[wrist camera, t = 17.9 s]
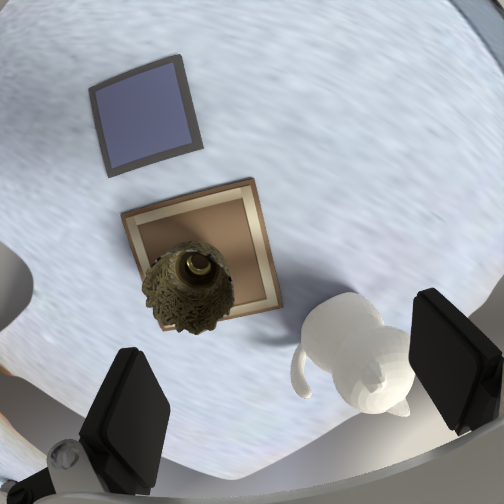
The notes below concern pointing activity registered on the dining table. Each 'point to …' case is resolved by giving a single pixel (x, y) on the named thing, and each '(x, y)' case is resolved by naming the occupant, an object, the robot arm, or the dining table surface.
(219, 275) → the cup
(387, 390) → the cat figurine
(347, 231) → the dining table surface
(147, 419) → the robot arm
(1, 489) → the decorative stone
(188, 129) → the ink pad
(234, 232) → the marked board
